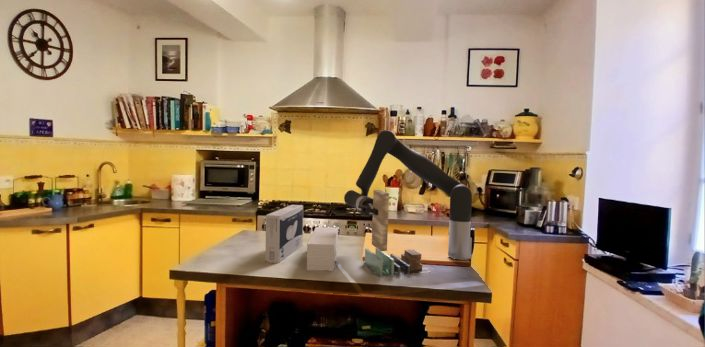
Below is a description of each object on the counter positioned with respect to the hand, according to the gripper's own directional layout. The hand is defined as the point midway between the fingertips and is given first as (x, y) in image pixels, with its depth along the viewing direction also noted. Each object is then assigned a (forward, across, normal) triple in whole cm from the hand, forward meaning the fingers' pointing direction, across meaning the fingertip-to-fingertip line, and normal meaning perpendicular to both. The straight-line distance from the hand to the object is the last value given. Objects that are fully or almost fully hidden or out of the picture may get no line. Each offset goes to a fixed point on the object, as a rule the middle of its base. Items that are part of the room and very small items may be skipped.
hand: (381, 212), depth 143 cm
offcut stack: (-1, +14, +22) cm, 27 cm away
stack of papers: (-24, -17, +25) cm, 38 cm away
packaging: (-37, -32, +25) cm, 54 cm away
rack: (-1, +8, +24) cm, 25 cm away
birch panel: (-1, 0, +14) cm, 14 cm away
